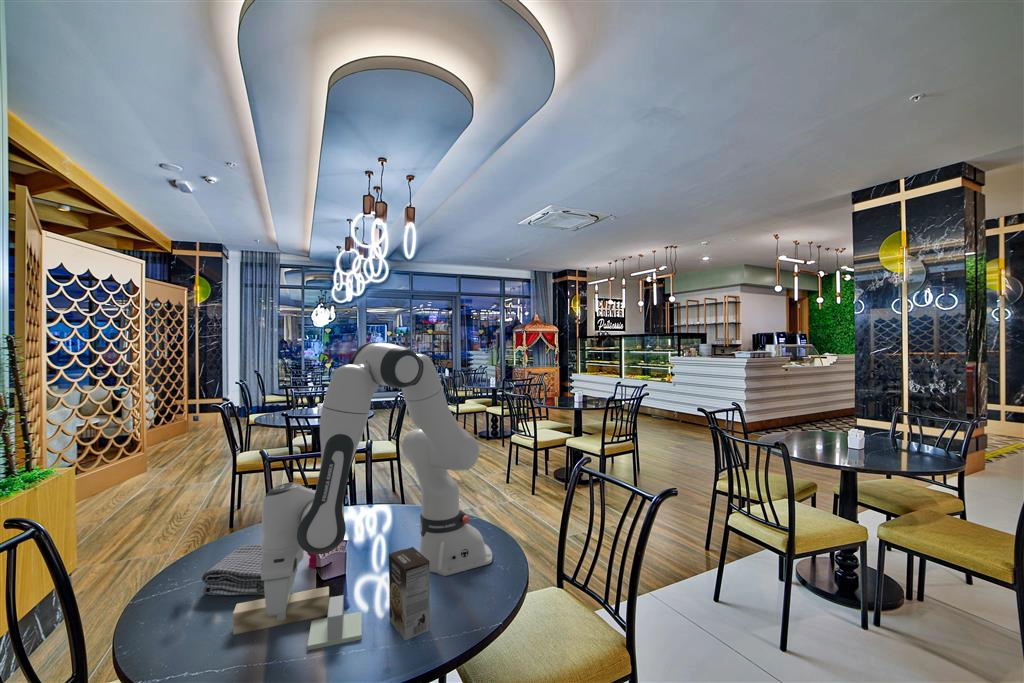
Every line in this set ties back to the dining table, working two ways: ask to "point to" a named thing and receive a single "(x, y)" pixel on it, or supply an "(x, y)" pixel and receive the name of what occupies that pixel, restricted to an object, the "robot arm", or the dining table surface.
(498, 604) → the dining table surface
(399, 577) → the coffee box
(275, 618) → the beech bar
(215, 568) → the towel
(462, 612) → the dining table surface
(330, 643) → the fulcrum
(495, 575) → the dining table surface
